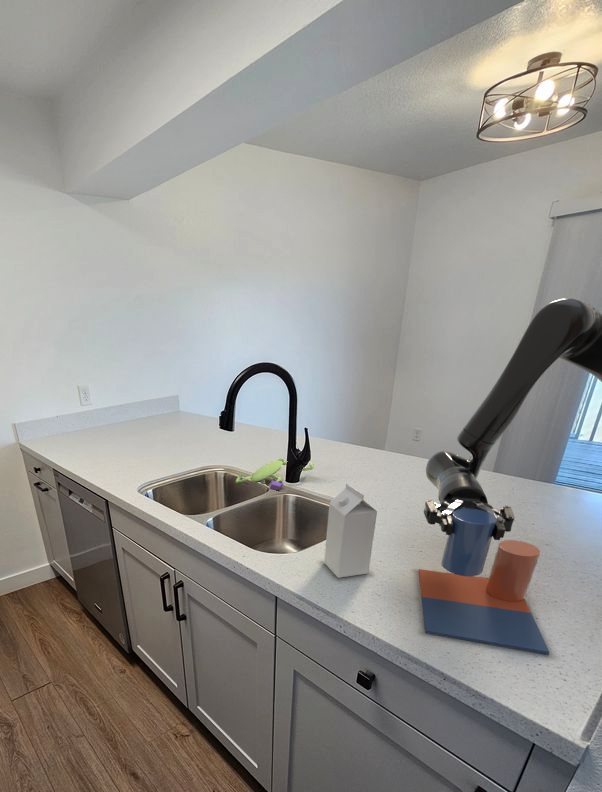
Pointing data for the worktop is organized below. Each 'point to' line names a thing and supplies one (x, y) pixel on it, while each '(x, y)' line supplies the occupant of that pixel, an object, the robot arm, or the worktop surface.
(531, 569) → the terracotta crock
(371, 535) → the milk carton
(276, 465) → the figurine
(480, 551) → the blue crock
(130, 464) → the worktop surface
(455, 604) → the sorting mat
